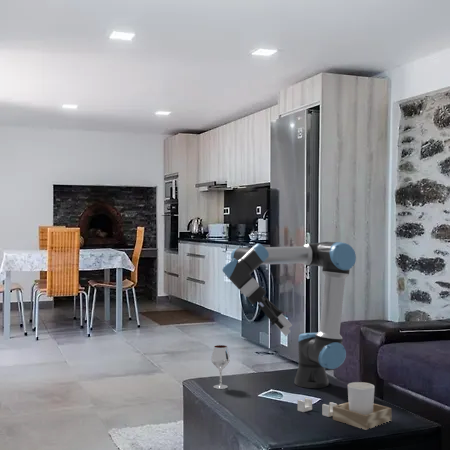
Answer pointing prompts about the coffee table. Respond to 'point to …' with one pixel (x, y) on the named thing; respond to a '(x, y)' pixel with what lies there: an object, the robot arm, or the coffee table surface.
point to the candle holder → (361, 397)
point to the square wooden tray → (362, 416)
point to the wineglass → (220, 361)
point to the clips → (307, 405)
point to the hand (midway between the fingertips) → (289, 330)
